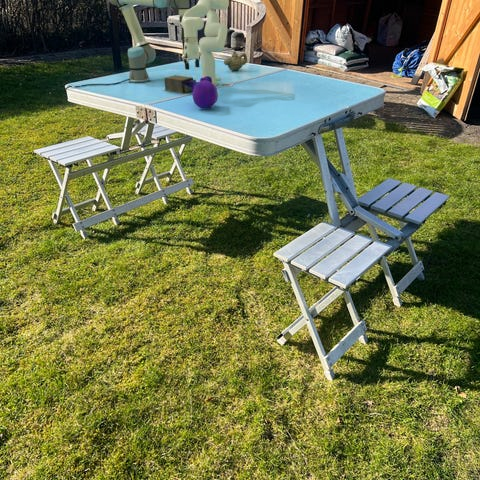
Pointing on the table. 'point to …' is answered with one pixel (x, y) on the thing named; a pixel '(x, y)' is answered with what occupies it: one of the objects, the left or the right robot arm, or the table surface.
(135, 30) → the left robot arm
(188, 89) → the drawer
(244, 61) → the teapot
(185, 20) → the right robot arm
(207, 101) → the toy
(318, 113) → the table surface
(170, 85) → the brown block
